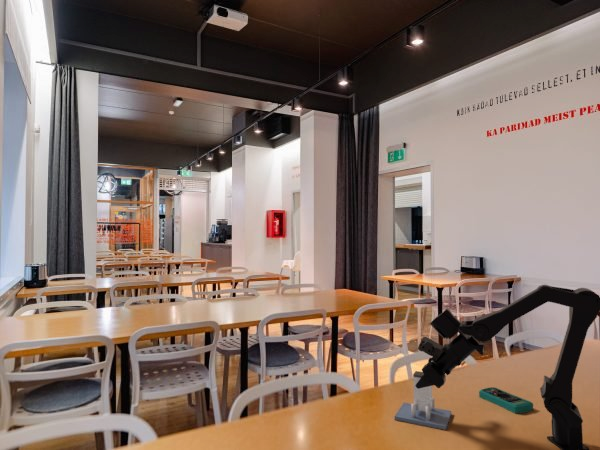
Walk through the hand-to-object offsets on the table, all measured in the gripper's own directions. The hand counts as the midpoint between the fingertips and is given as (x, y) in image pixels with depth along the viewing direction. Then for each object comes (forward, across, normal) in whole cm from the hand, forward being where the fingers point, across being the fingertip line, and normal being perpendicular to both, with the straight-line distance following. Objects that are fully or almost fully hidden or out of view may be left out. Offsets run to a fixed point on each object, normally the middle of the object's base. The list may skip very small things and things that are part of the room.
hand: (417, 385), depth 116 cm
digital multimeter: (-9, -22, +22) cm, 32 cm away
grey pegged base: (+5, 0, +7) cm, 9 cm away
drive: (+4, 0, +6) cm, 7 cm away
